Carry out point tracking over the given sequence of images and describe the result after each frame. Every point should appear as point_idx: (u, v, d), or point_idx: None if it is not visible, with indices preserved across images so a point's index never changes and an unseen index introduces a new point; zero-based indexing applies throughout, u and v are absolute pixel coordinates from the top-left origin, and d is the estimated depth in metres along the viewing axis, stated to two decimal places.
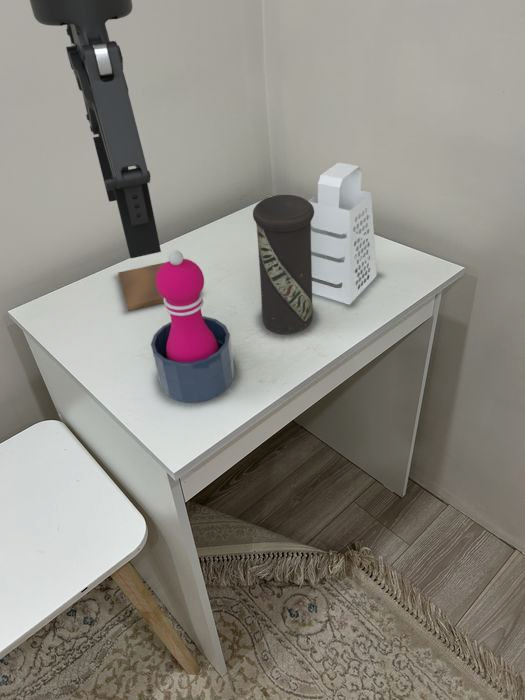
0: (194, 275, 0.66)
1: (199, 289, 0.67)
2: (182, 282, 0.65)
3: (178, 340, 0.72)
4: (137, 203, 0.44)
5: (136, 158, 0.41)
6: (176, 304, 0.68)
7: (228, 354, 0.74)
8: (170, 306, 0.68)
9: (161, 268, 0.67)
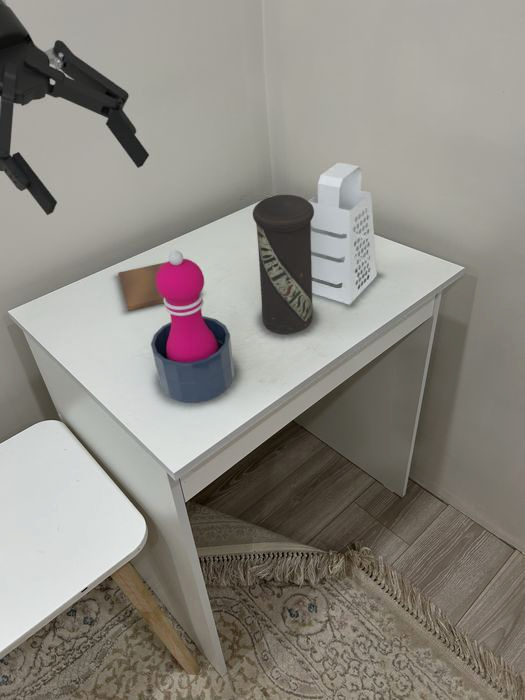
0: (194, 275, 0.66)
1: (199, 289, 0.67)
2: (182, 282, 0.65)
3: (178, 340, 0.72)
4: None
5: None
6: (176, 304, 0.68)
7: (228, 354, 0.74)
8: (170, 306, 0.68)
9: (161, 268, 0.67)
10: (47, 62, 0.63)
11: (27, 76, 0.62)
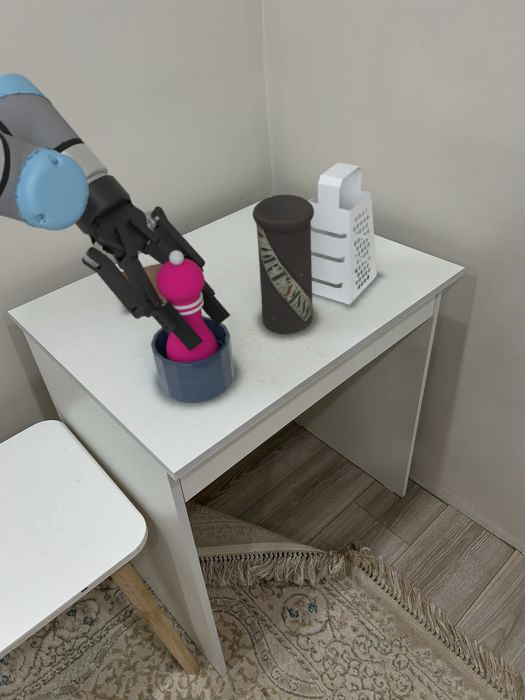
0: (194, 275, 0.66)
1: (199, 289, 0.67)
2: (182, 282, 0.66)
3: (178, 339, 0.72)
4: None
5: None
6: (177, 303, 0.68)
7: (228, 354, 0.74)
8: None
9: (161, 268, 0.67)
10: (143, 221, 0.70)
11: (132, 234, 0.68)
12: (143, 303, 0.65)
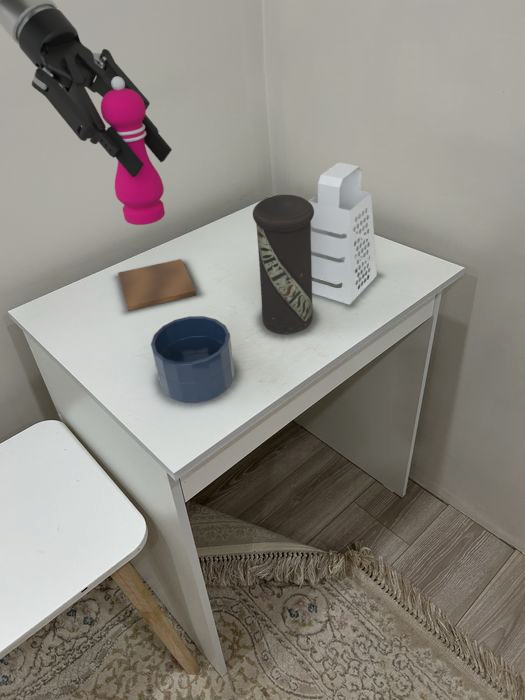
0: (134, 100, 0.73)
1: (140, 114, 0.74)
2: (123, 104, 0.72)
3: (123, 170, 0.78)
4: None
5: None
6: (119, 129, 0.75)
7: (228, 354, 0.74)
8: None
9: (105, 94, 0.74)
10: (91, 58, 0.77)
11: (80, 66, 0.75)
12: (87, 122, 0.72)
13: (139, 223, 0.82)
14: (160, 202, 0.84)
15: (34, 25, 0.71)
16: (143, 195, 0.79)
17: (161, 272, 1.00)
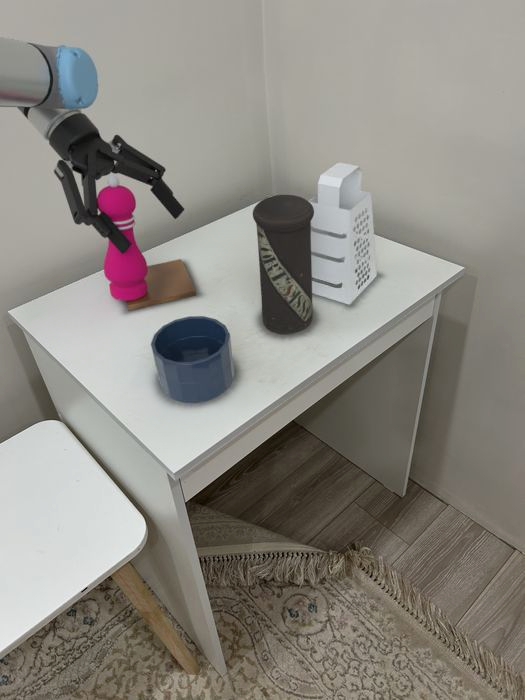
0: (126, 196, 0.84)
1: (130, 208, 0.85)
2: (116, 199, 0.83)
3: (113, 253, 0.88)
4: None
5: None
6: (112, 219, 0.85)
7: (228, 354, 0.74)
8: None
9: (101, 190, 0.85)
10: (111, 150, 0.90)
11: (100, 160, 0.88)
12: (82, 210, 0.82)
13: (123, 299, 0.92)
14: (144, 281, 0.94)
15: (63, 129, 0.84)
16: (128, 276, 0.89)
17: (161, 272, 1.00)
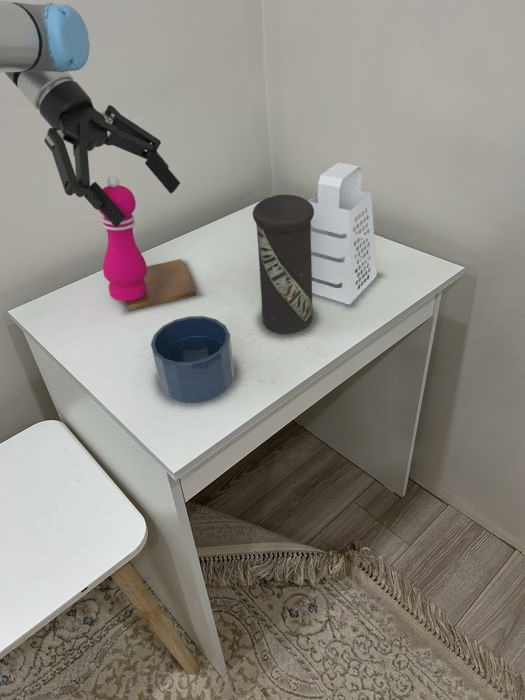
0: (126, 196, 0.84)
1: (130, 208, 0.85)
2: (116, 199, 0.83)
3: (112, 253, 0.88)
4: None
5: None
6: None
7: (228, 354, 0.74)
8: (106, 221, 0.86)
9: None
10: (104, 120, 0.87)
11: (93, 130, 0.85)
12: (74, 180, 0.79)
13: (122, 299, 0.92)
14: (143, 281, 0.94)
15: (54, 97, 0.81)
16: (128, 276, 0.89)
17: (161, 272, 1.00)
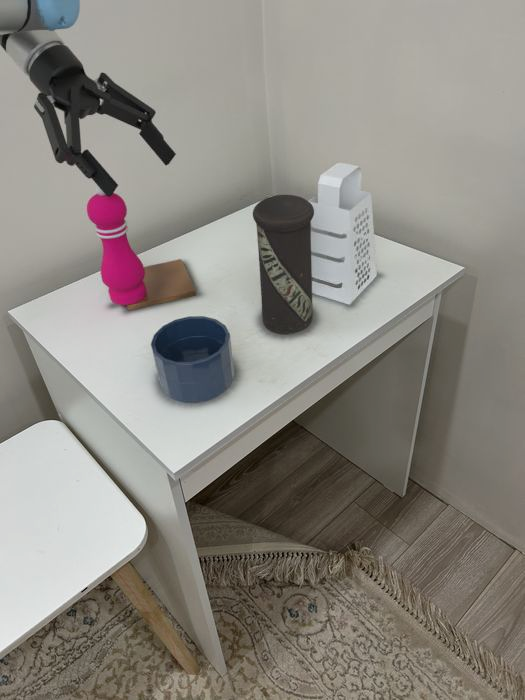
0: (116, 204, 0.83)
1: (121, 215, 0.84)
2: (106, 208, 0.82)
3: (108, 260, 0.88)
4: None
5: None
6: (104, 228, 0.84)
7: (228, 354, 0.74)
8: (99, 230, 0.85)
9: (90, 198, 0.83)
10: (97, 87, 0.84)
11: (85, 97, 0.82)
12: (64, 146, 0.76)
13: (123, 303, 0.92)
14: (142, 283, 0.94)
15: (43, 60, 0.78)
16: (126, 282, 0.89)
17: (161, 272, 1.00)
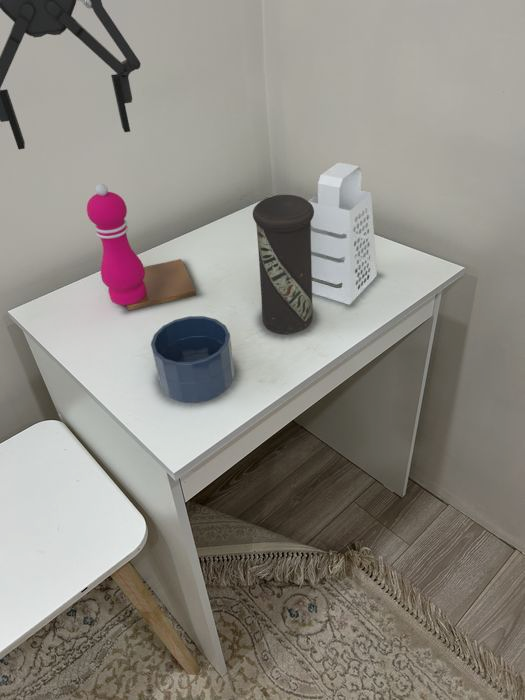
0: (116, 204, 0.83)
1: (121, 215, 0.84)
2: (106, 208, 0.82)
3: (108, 260, 0.88)
4: None
5: None
6: (104, 228, 0.84)
7: (228, 354, 0.74)
8: (99, 230, 0.85)
9: (90, 198, 0.83)
10: (71, 7, 0.63)
11: (44, 18, 0.63)
12: None
13: (123, 303, 0.92)
14: (142, 283, 0.94)
15: None
16: (126, 282, 0.89)
17: (161, 272, 1.00)
